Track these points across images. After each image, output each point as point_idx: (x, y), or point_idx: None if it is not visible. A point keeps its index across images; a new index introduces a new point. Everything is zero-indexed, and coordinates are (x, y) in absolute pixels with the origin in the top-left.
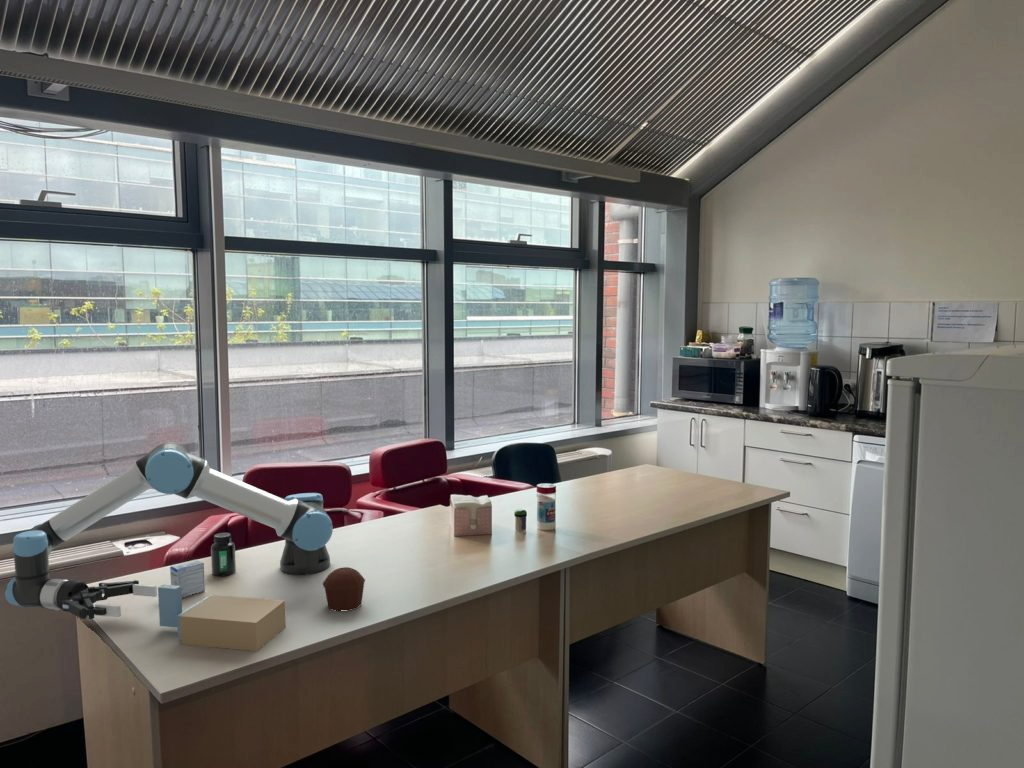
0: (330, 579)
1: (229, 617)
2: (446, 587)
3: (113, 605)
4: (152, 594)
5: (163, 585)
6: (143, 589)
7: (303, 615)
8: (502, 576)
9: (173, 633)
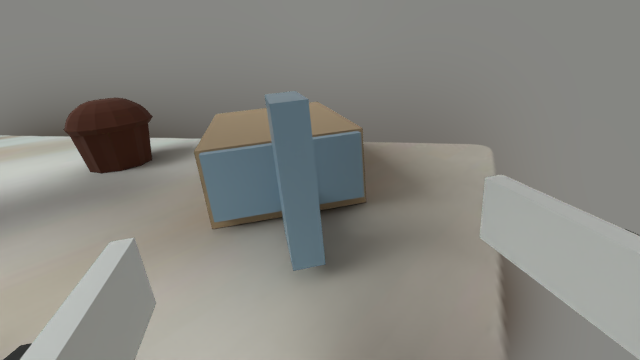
0: (128, 108)
1: (316, 110)
2: (69, 145)
3: (525, 191)
4: (145, 305)
5: (279, 101)
6: (101, 338)
7: (168, 170)
8: (44, 138)
9: (324, 244)
